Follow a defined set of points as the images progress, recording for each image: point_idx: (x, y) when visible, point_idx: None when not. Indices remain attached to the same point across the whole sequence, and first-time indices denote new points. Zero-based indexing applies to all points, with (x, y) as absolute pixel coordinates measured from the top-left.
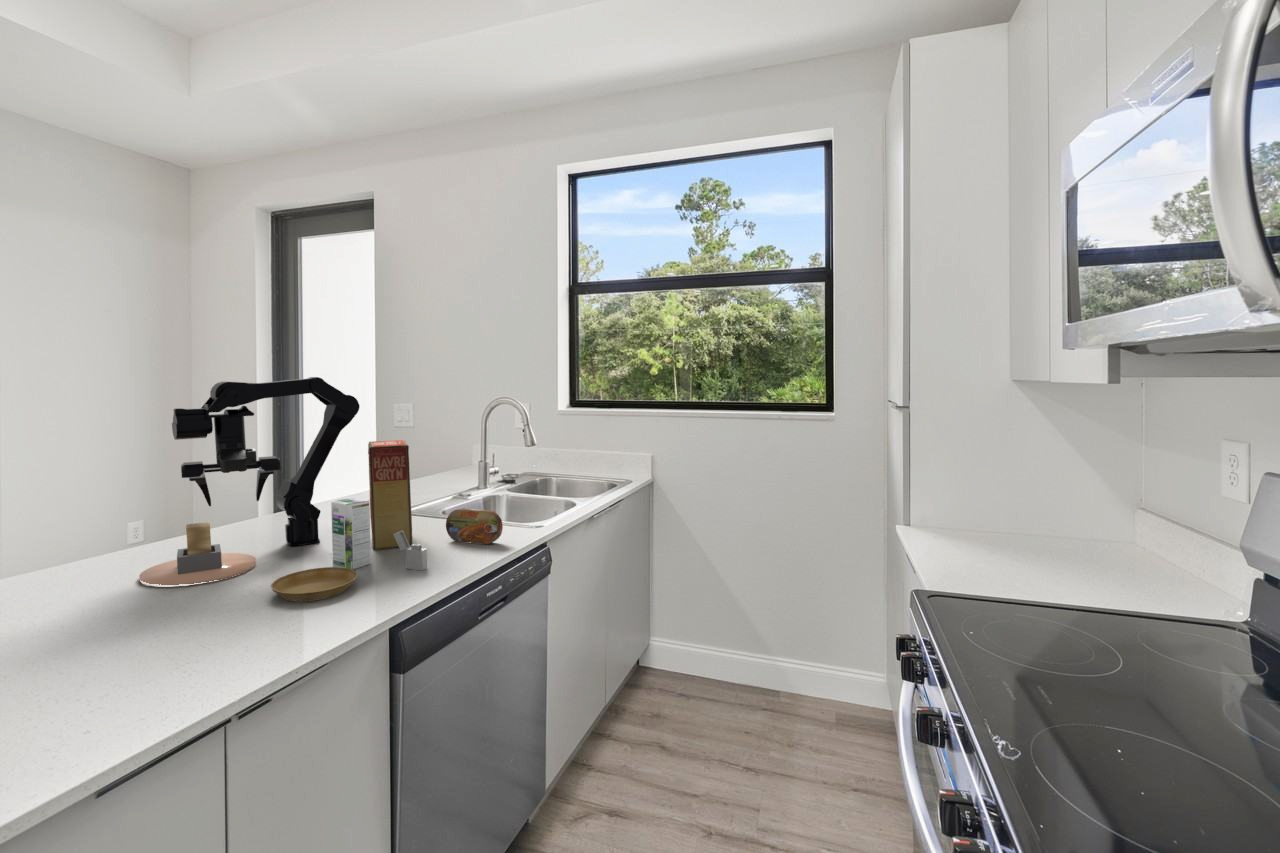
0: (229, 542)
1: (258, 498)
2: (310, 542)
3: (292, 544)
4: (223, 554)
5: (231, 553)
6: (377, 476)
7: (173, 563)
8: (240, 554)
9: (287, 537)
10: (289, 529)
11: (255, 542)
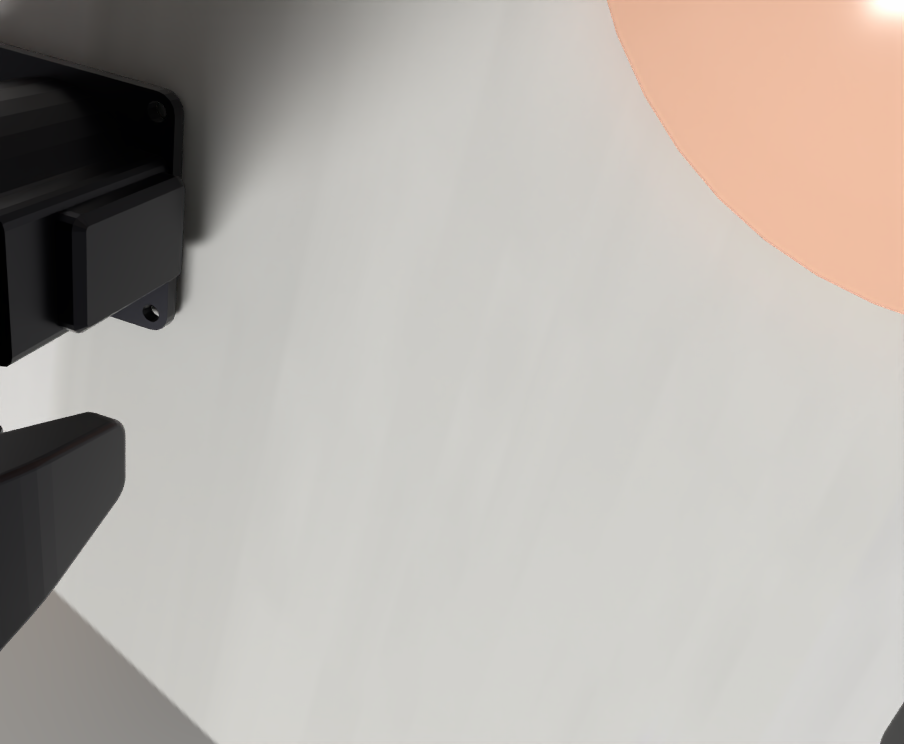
0: (517, 644)
1: (62, 427)
2: (22, 52)
3: (158, 91)
4: (768, 164)
5: (695, 140)
6: None
7: None
8: (649, 14)
9: (152, 192)
10: (80, 201)
11: (375, 494)
